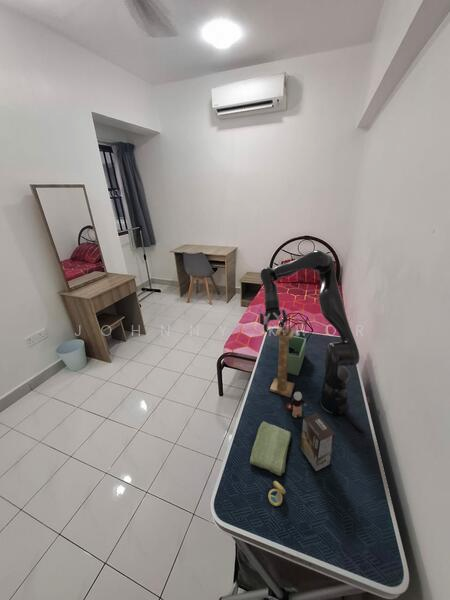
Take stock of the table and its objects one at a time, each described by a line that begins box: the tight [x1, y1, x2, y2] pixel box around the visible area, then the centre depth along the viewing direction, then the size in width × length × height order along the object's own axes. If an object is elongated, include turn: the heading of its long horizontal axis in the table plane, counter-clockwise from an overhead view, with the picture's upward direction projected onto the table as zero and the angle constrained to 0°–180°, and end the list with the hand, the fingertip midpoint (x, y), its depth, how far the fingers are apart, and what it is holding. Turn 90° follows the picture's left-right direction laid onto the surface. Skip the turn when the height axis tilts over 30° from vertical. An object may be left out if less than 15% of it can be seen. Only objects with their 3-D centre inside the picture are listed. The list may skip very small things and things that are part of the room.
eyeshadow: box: [267, 480, 287, 507], centre depth 76 cm, size 4×5×5 cm
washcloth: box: [249, 421, 292, 477], centre depth 90 cm, size 13×18×3 cm
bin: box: [287, 335, 307, 376], centre depth 131 cm, size 11×18×12 cm, turn 153°
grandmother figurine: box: [288, 391, 307, 418], centre depth 101 cm, size 8×4×13 cm, turn 109°
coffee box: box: [300, 412, 336, 472], centre depth 84 cm, size 9×6×16 cm
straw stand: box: [269, 324, 296, 398], centre depth 110 cm, size 10×8×35 cm
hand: (274, 331), depth 125 cm, fingers open, 8 cm apart
